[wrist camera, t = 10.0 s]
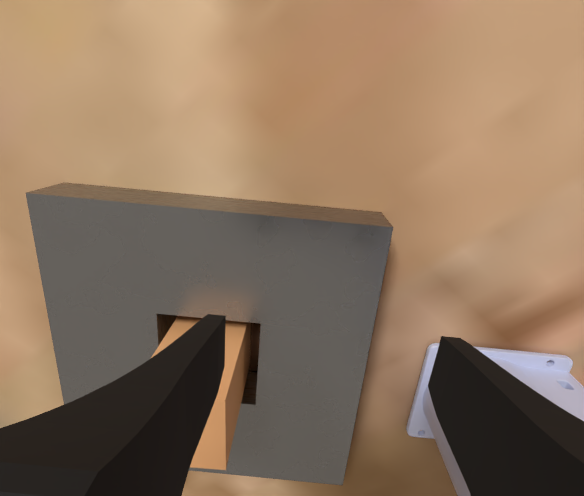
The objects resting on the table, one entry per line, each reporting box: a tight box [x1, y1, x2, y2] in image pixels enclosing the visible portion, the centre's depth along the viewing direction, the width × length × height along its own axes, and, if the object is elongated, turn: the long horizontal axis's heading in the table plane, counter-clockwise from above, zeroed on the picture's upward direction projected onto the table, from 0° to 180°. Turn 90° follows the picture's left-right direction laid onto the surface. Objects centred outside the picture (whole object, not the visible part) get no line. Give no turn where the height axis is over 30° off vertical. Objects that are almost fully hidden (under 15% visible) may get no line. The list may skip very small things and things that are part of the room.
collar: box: [26, 183, 393, 485], centre depth 22 cm, size 19×19×3 cm
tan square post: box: [151, 316, 251, 470], centre depth 20 cm, size 4×4×8 cm
